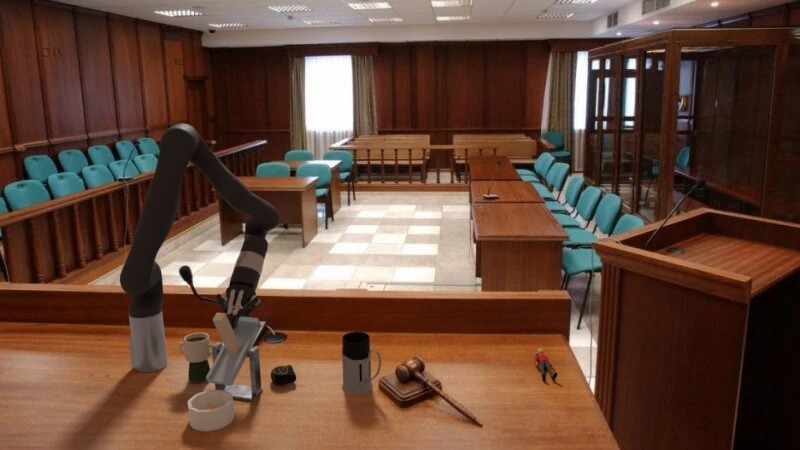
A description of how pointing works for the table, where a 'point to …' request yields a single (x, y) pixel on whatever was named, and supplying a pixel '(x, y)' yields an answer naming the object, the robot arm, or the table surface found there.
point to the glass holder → (357, 363)
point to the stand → (255, 389)
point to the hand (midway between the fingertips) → (229, 329)
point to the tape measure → (283, 375)
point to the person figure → (544, 364)
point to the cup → (211, 418)
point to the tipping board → (232, 361)
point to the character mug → (197, 355)
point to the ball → (210, 408)
